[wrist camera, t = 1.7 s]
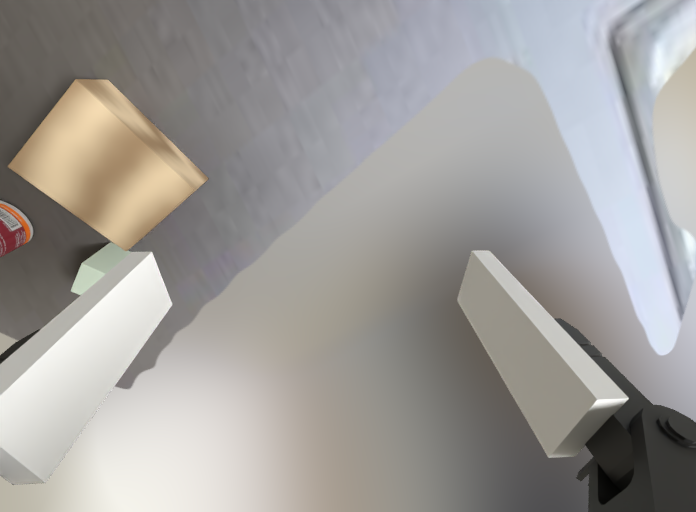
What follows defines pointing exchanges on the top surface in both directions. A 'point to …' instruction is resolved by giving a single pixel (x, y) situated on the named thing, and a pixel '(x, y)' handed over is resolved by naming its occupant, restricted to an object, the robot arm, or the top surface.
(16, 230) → the pill bottle
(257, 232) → the top surface
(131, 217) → the oak block
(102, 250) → the sage cube
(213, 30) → the top surface
